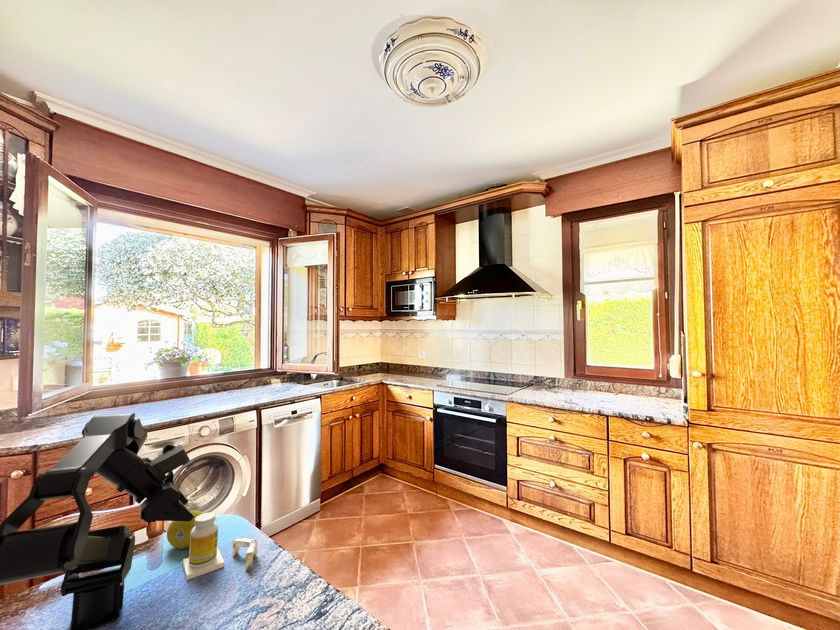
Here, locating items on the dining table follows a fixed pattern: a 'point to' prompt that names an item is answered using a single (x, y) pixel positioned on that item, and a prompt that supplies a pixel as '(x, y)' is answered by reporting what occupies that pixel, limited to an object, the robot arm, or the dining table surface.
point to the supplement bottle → (203, 541)
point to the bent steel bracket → (250, 553)
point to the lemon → (181, 532)
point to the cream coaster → (195, 572)
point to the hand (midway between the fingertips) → (189, 510)
